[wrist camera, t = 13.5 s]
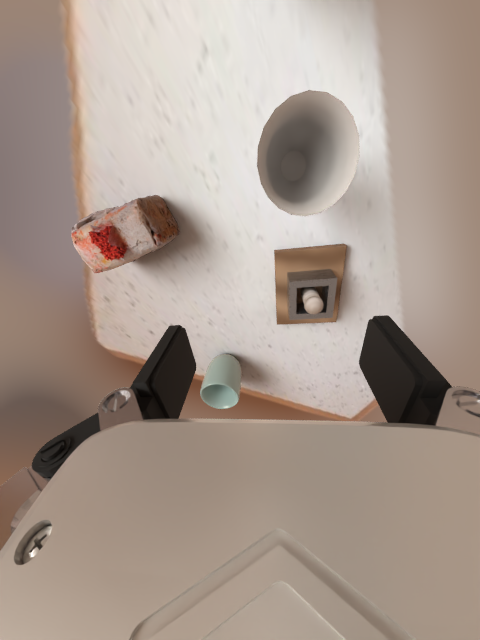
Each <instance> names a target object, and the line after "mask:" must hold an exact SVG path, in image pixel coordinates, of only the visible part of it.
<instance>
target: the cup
mask: <svg viewBox="0 0 480 640" xmlns="http://www.w3.org/2000/svg"><path fill="white" fill-rule="evenodd" d="M241 378H242V373H241V366H240V364H239V362H238V360H237V359H236V358H235V357H233V356H232V355H229V354H222V355H219V356H217V357H215V358H214V359H213V360H212V361H211V363H210V364H209V366H208V368H207V371H206V374H205V377H204V380H203V383H202V387H201V390H200V395H201V398H202V399H203V400H204V402H205V403H206V404H208V405H210V406H212V407H214V408H219V409H225V408H230V407H232V406H234V405H236V404H237V402H238V401H239V396H240V389H241Z"/></svg>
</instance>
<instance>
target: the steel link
mask: <svg viewBox="0 0 480 640" xmlns="http://www.w3.org/2000/svg"><path fill="white" fill-rule="evenodd" d="M316 286H322V296H321V300H322V301H323V309H322V311H321V312H319V313H318V314H310V313H308V312H307V311H306V310H305V308H304V302H298V303H296V297H297V288H302V287H316ZM336 286H337V277H336V276H335V274H334V273H333V271H332V270H331V269H323V270H310V271H298V272H287V305H288V314H289V320H300V319H320V318H333V311H334V302H335V294H336Z"/></svg>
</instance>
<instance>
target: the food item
mask: <svg viewBox="0 0 480 640" xmlns="http://www.w3.org/2000/svg"><path fill="white" fill-rule="evenodd" d="M71 229H72V231H71V232H72V234H71V236H72V239H73V244H74V246H75V248H76V250H77V252H78V253H79V254H80V256H81V258H82V259H83V260H84V261H85V262H86V264H87V265H88V266H89V267H90V268H91V269H92V270H93V272H94V273H100V272H103V271H107V270H111V269H114V268H116V267H119V266H121V265H124V264H126V263H129V262H132V261H135V260H136V259H138V258H140V257H141V256H143V255H145V254H147V253H150V252H154V251H156V250H157V249H161V248H162V246H164V245H166V244H168V243H169V242H171V241H172V240H173V239H174V238H175V237H176V236H177V235H178V234H179V232H180V230H179V228H178V226H177V222H176V220H175V219H174V218H173V216H172V214H171V213H170V211H169V209H168V207H167V205H166V204H165V202H164V201H163V199H162V198H161V197H160V196H158V195H154V196H147V197H145V198H138V199H136V200H132V201H131V202H129V203H126V204H124V205H123V206H121V207H113V208H109V209H105V210H103V211H97V212H95V213H92V214H90V215H89V216H87V217H85V218H83V219H82V220H80V221H78V223H76V224H75V226H74V227H72V228H71Z"/></svg>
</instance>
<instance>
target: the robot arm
mask: <svg viewBox="0 0 480 640" xmlns="http://www.w3.org/2000/svg"><path fill="white" fill-rule="evenodd" d="M359 365H360V368H361V370H362V372H363V374H364V376H365V378H366V380H367V382H368V384H369V386H370V388H371V390H372V392H373V394H374V396H375V398H376V400H377V402H378V404H379V406H380V408H381V410H382V412H383V414H384V416H385V418H386V420H387V422H388V423H383V422H351V421H307V420H305V421H304V420H254V419H253V420H252V419H178V418H179V415H180V412H181V410H182V407H183V404H184V401H185V399H186V396H187V393H188V390H189V387H190V385H191V382H192V379H193V376H194V374H195V371H196V362H195V359H194V356H193V353H192V349H191V346H190V343H189V340H188V336H187V333H186V330H185V328H182V326H180V325H175V326H169V327H168V329H167V330H166V332H165V334H164V335H163V337H162V338H161V340H160V341H159V343H158V344H157V346H156V347H155V349H154V351H153V352H152V354H151V355H150V357H149V358H148V360H147V361H146V363H145V365H144V366H143V368H142V369H141V371H140V372H139V374H138V375H137V377H136V379H135V380H134V382H133V384H132V386H131V387H130V388H125V387H124V388H119V389H117V390H114V391H112V392H111V393H109V394H108V395H107V396H105V397H104V398H103V400H102V401H101V402H100V404H99V406H98V413H97V414H95V415H93V416H91V417H89V418H88V419H86V420H84V421H83V422H81V423H79V424H77V425H76V426H74V427H72V428H70V429H69V430H67V431H65V432H64V433H62V434H60V435H58V436H57V437H55V438H53V439H52V440H50V441H49V442H47V443H46V444H45V445H44V446H43V447H42V448H41V449H40V450H39V451H38V453H37V454H36V456H35V457H34V459H33V462H32V466H30V467H29V468H28V469H27V468H25V467H24V468H23V469H21V470H20V471H19V472H18V473H16V474H15V475H14V476H12V477H11V478H10V479H9V480H7V481H6V482H5V483H4V484H3V485H1V486H0V640H480V391H478V390H475V389H472V388H468V387H460V386H457V387H452V386H451V385H450V384H449V383H448V382H447V380H446V379H445V378H444V377H443V376H442V375H441V374H440V373H439V371H438V370H437V369H436V368H435V367H434V366H433V365H432V364H431V363H430V361H428V359H427V358H426V357H425V356H424V355H423V354H422V352H421V351H420V350H419V349H418V348H417V347H416V346H415V345H414V344H413V342H412V341H411V340H410V339H409V338H408V337H407V336H406V335H405V333H404V332H403V331H402V330H401V329H400V328H399V327H398V326H397V324H396V323H395V322H394V321H393V320H392V319H391V318H390V317H389V316H374V317H373V319H370V320H369V322H368V326H367V330H366V334H365V338H364V343H363V347H362V351H361V355H360V360H359Z"/></svg>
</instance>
